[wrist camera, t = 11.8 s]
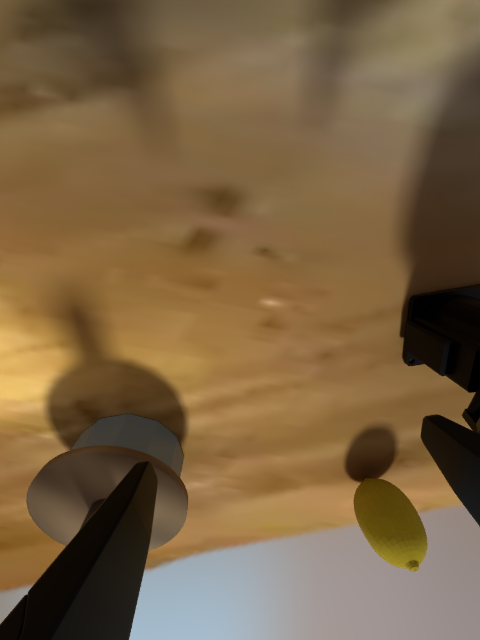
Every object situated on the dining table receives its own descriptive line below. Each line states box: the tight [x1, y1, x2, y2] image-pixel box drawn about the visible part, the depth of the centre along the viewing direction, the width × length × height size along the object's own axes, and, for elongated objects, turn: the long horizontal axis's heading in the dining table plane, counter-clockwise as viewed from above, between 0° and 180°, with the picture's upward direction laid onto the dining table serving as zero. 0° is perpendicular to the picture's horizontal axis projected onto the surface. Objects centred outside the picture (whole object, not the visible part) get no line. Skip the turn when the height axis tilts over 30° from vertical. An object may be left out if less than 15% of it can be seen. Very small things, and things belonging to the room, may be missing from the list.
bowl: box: [71, 414, 184, 477], centre depth 23 cm, size 10×10×4 cm
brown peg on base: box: [26, 446, 188, 551], centre depth 16 cm, size 12×12×12 cm
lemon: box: [354, 478, 427, 572], centre depth 25 cm, size 6×6×8 cm
